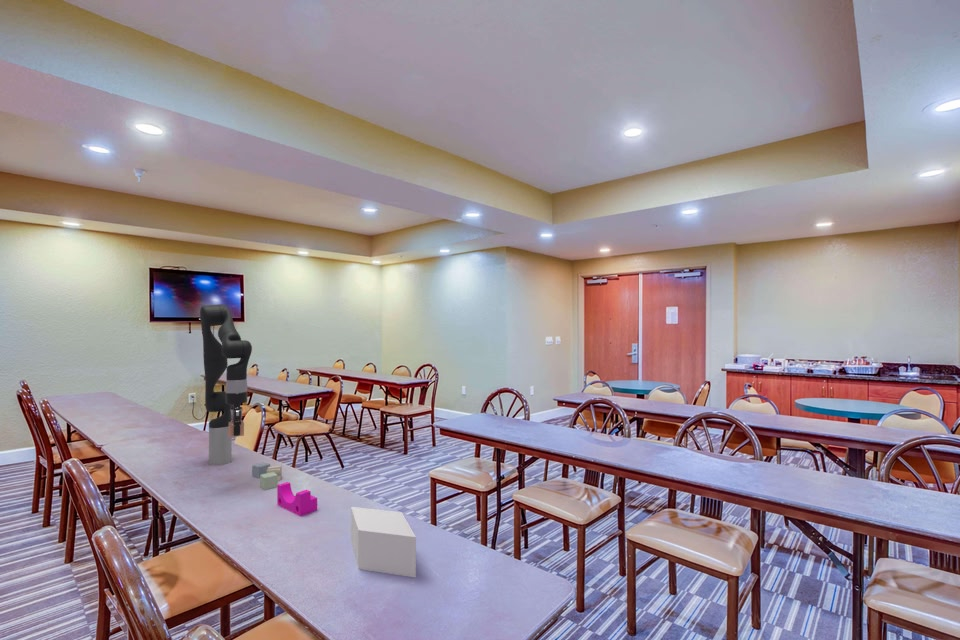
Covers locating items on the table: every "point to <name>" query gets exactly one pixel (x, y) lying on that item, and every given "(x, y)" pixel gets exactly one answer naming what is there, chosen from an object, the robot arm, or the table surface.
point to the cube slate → (259, 469)
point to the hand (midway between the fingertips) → (236, 433)
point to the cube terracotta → (231, 429)
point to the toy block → (295, 500)
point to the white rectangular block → (383, 541)
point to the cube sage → (268, 480)
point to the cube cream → (276, 471)
